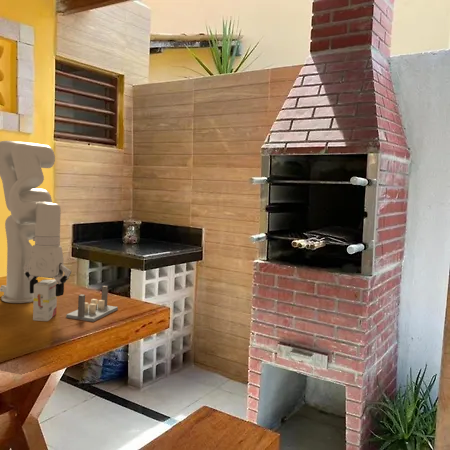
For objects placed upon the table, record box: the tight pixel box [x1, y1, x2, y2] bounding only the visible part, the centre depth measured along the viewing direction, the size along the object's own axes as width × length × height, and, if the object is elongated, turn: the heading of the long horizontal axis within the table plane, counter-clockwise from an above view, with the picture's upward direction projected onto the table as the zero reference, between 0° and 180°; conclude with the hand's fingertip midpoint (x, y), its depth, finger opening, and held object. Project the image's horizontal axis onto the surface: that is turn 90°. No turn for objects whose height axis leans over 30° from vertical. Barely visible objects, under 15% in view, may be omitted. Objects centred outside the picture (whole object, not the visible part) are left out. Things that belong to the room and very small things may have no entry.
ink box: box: [32, 279, 58, 322], centre depth 150 cm, size 9×5×12 cm, turn 1°
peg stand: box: [65, 285, 119, 322], centre depth 158 cm, size 10×16×8 cm, turn 164°
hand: (46, 294), depth 149 cm, fingers open, 9 cm apart
